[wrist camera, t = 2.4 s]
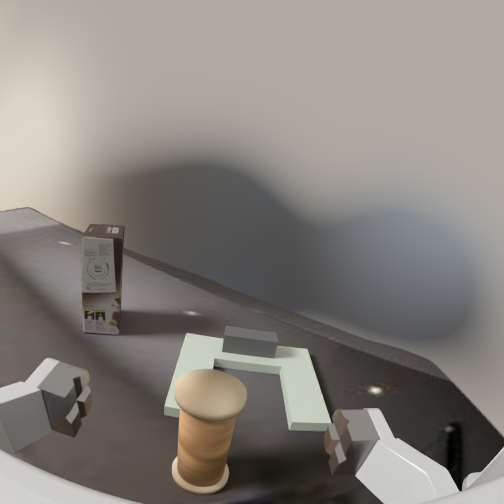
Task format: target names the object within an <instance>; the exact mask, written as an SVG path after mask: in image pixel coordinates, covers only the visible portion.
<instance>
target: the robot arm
mask: <svg viewBox="0 0 504 504" xmlns="http://www.w3.org/2000/svg"><path fill="white" fill-rule="evenodd" d="M89 381H90V379H89V373H88V371H86V370H84V369H81V368H78V367H75V366H72V365H69V364H66V363H63V362H60V361H57V360H54V359H51V358H46V359H45V360H44V361H43V362H42V363H41V365H40V366H39V367H38V368H37V369H36V370H35V371H34V372H33V374H32V375H31V376H30V377H29V378H28V379H27V381H26V382H25V383H24V382H18V383H15V384H12V385H8V386H5V387H2V388H0V504H142V503H138V502H134V501H130V500H126V499H122V498H119V497H115V496H112V495H108V494H105V493H102V492H99V491H96V490H93V489H90V488H87V487H84V486H81V485H78V484H76V483H73V482H70V481H68V480H65V479H62V478H60V477H57V476H55V475H53V474H50V473H48V472H46V471H43V470H41V469H39V468H37V467H34V466H32V465H30V464H28V463H26V462H24V461H22V460H20V459H18V458H17V456H16V454H15V452H16V451H18V450H20V449H22V448H24V447H25V446H27V445H29V444H31V443H33V442H34V441H36V440H38V439H40V438H41V437H43V436H45V435H47V434H48V433H50V432H52V430H54V431H57V432H60V433H63V434H66V435H68V436H71V437H75V436H76V434H77V432H78V430H79V429H80V427H81V425H82V423H81V418H83V417H85V416H87V414H88V412H89V410H90V406H91V399H92V395H91V390H90V388H89V387H88V386H87V384H88V382H89ZM332 418H333V422H334V423H332V424H331V425H329V426H328V428H327V430H326V432H325V438H324V446H325V450H326V452H327V453H328V454H329V455H330V456H331V457H330V459H329V461H328V462H329V465H330V469H331V473H332V475H355V476H356V477H357V478H358V479H359V480H360V481H361V482H362V483H363V484H364V485H365V486H366V487H367V488H368V489H369V490H370V491H371V492H372V493H373V494H375V495H376V496H377V497H378V498H379V499H380V500H381V501H382V502H383V503H384V504H504V448H503V449H502V450H501V451H500V452H499V453H498V454H497V456H496V457H495V458H494V459H493V460H492V461H491V462H490V463H489V464H488V466H487V467H486V468H485V469H484V470H483V471H482V472H477V473H471V474H469V475H468V476H467V477H466V478H465V479H464V481H463V485H462V491H460V492H459V490H458V488H457V486H456V485H455V483H454V481H453V479H452V477H451V476H450V474H449V472H448V470H447V469H446V468H444V467H443V466H441V465H439V464H438V463H436V462H435V461H433V460H431V459H430V458H428V457H426V456H425V455H423V454H422V453H420V452H419V451H417V450H415V449H414V448H412V447H411V446H409V445H408V444H406V443H405V442H403V441H402V440H400V439H395V438H394V436H393V434H392V432H391V430H390V428H389V426H388V424H387V422H386V421H385V419H384V417H383V415H382V413H381V411H380V410H379V409H378V408H369V409H337V410H336V411H335V412H334V414H333V417H332Z"/></svg>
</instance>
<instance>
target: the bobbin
mask: <svg viewBox="0 0 504 504" xmlns="http://www.w3.org/2000/svg"><path fill="white" fill-rule="evenodd" d="M246 399H247V391H246V388H245V386H244V385H243V384H242V382H241V381H240V380H238V379H237V378H236V377H234V376H232V375H230V374H228V373H226V372H223V371H219V370H214V369H196V370H192V371H189V372H186V373H184V374H183V375H181V376H180V377H179V378H178V380H177V381H176V384H175V401H176V403H177V404H178V406H179V407H180V417H179V436H178V456H177V457H176V458H175V460H174V462H173V465H172V475H173V478H174V480H175V482H176V483H177V484H178V485H179V486H180V487H181V488H182V489H184V490H185V491H187V492H190V493H193V494H197V495H208V494H213V493H216V492H218V491H219V490H221V489H222V488H223V487H224V486H225V485H226V483H227V480H228V476H229V469H228V466H227V464H226V461H227V457H228V452H229V447H230V443H231V438H232V433H233V429H234V424H235V419H236V416H237V415H239V414H240V413H241V412H242V411H243V409H244V407H245V403H246Z"/></svg>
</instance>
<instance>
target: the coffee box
mask: <svg viewBox="0 0 504 504" xmlns="http://www.w3.org/2000/svg"><path fill="white" fill-rule="evenodd" d="M124 229H125V226H120V225H105V224H102V225H98V224H90V226H89V227H88V228H87V230H86V231H85V233H84V234H83V236H82V237H83V239H82V310H83V331H84V332H87V333H100V334H112V335H118V334H119V331H120V316H121V292H122V268H123V246H124Z"/></svg>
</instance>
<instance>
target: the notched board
mask: <svg viewBox="0 0 504 504" xmlns="http://www.w3.org/2000/svg"><path fill="white" fill-rule="evenodd" d="M277 345H278V339H277V334H276V332H268V331H260V330H252V329H245V328H238V327H231V326H225V332H224V339H221V338H215V337H208V336H202V335H196V334H190V333H186V336H185V340H184V343H183V346H182V349H181V353H180V356H179V359H178V362H177V366H176V369H175V372H174V376H173V379H172V382H171V386H170V389H169V393H168V396H167V399H166V403H165V407H164V415H167V416H173V417H178V418H179V417H180V407H179V406H178V404H177V403H176V401H175V384H176V381H177V380H178V378H179V377H180V376H181V375H183V374H184V373H186V372H189V371H192V370H196V369H213V366H215V367H222V368H229V369H236V370H244V371H252V372H261V373H270V374H280V379H281V385H282V391H283V396H284V402H285V408H286V414H287V420H288V426H289V430H297V431H326V430H327V428H328V426H329V425H331V420H330V417H329V414H328V411H327V408H326V405H325V402H324V399H323V396H322V392H321V389H320V386H319V383H318V380H317V377H316V374H315V371H314V368H313V365H312V362H311V359H310V356H309V353H308V350H307V349H302V348H292V347H283V346H277Z"/></svg>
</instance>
